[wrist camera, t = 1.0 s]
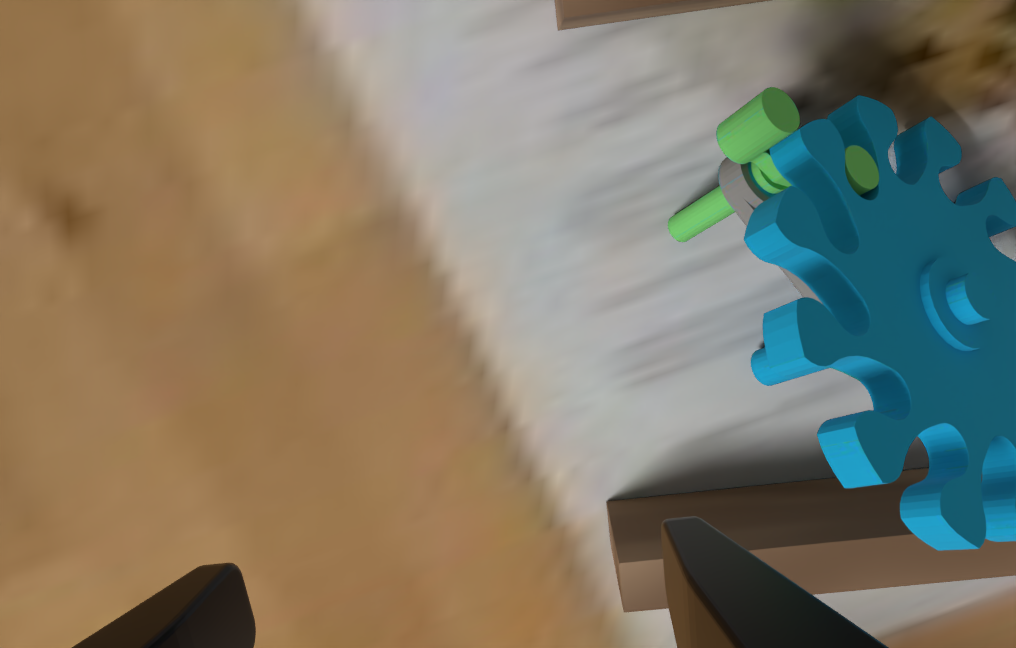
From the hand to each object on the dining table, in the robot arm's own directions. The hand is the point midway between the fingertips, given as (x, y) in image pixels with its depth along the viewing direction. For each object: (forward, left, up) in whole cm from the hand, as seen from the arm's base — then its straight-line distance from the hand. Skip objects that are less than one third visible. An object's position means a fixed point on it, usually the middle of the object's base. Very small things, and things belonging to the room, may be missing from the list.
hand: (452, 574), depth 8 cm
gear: (0, -9, -12) cm, 15 cm away
